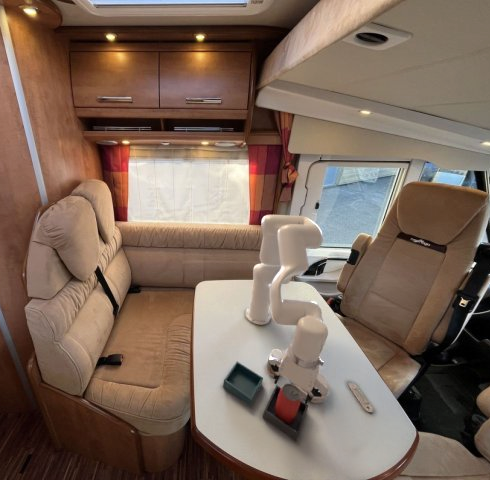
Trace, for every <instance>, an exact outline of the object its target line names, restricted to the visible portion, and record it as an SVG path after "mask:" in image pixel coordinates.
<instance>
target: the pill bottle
mask: <svg viewBox="0 0 490 480" xmlns="http://www.w3.org/2000/svg"><path fill="white" fill-rule="evenodd" d="M284 354H285V353H283V351H281V350H280V349H278V348H275V349H272V350H271V353H270V354H269V355H268V358H267V359H268V360H267V363H266V372H267V373H268V374H269V375H270V376H271V377H274V371H273V369H272V368H271V364H270V362H269V359H270V357H274V358H279V359H282V358H283V356H284ZM276 365H277V366H280V364H276Z"/></svg>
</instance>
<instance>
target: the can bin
mask: <svg viewBox="0 0 490 480" xmlns="http://www.w3.org/2000/svg"><path fill="white" fill-rule="evenodd" d="M281 388H282V387H281V386H280V385H278V384H275V387H274V389H273V390H272V392H271V395H270V397H269V400H268V402H267V404H266V406H265V408H264V410H263V414H262V418H263V419H264V420H265V421H266V422H269V423H270V424H271V425H272V426H274V427H275V428H276V429H278V430H279V431H280V432H282V433H283V434H284V435H286V437H289V438H290V439H291V440H293V441H294V442H295V443H297V441H298V439H299V437H300V433H301V430H302V427H303V424H304V421H305V417H306V414H307V412H308V408H309V404H308V403H307V404H305V401H303V400H301V403H300V406H299V408H298V411H297V414H296V417H295V420H294V421H293V422H292V423H285V422H283V421H281V420H280V419H279V418H278V417H277V415H276V412H275V406H276V402H277V399H278V395H279V392H280V389H281Z"/></svg>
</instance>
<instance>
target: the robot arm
mask: <svg viewBox="0 0 490 480" xmlns="http://www.w3.org/2000/svg"><path fill="white" fill-rule="evenodd" d="M260 224H261V225H260V226H261V227H260V228H261V232H262V240H261V244H260V245H261V246H260V250H259V251H260V252H259V261H260V263H257V264H255V265H254V267H253V269H252V288H251V295H250V302H249V307H247V308H246V310H245V317H246V319H247V320H248V321H249V322H250V323H252V324H254V325H257V326H263V325H268V324H269V322H271V318H272V320H273V321H274V322H275V323H276V324H277V325H281V326H295V327H296V328H295V329H294V330H295V331H294V335H293V336H292V337H293V338H292V341H291V344H290V345H289V346H288V347H287V348H286V350H285V351H284V353H283V354H284V356H283V358H282V359H279V358H274V357H270V359H269V358H268V359H269V362H270V364H271V368H272V369H273V371H274V376H273V380H274V382H273V384H275V385H278V382H279V379H280V377H283V378H284V379H286V380H287V381H289V382H290V383H291V384H292V383H294V384H296V385H297V386H299V387H301V388H302V389H304V390H306V391H307V392H308V394H307V397H306V399H304V403H305V404H308V403H309V402H310V403H312V402H311V400H312V398H314V397H321V396H322V395H323V396H324V395H327V392H328V390H327V389H326V388H325V387H324V386H323V385H322V384H321V383H320V382H319V381H318V380H317V375H318V372H320V366H321V367H323V366H324V363H325V361H324V360H322V359H321V357H320V356H321V355H322V354H321V353H322V351H323V349H324V346H325V344H326V341H327V338H328V336H329V330H328V327H327V325H326V324H325V323H324V319H323V314H322V309H321V307H320V306H319V304H318V303H317V302H316V301H314V300H304V299H303V300H302V299H301V300H300V299H287V298H284V299H283V298H282V291H281V290H282V285H288V284H289V283H290V282H291V281H292V277H295V276H298V275H301V274H303V273H306V271H309V267H310V266H309V264H310V263H309V260H308V253H307V250H317V249H319V248H321V246H322V244H323V240H324V236H323V232H322V230H321V228H320V226H319V225H318V224H317V223H315V222H314V221H313V220H311V218H309V217H307V216H305V215H290V214H289V215H288V214H266V215H264V216H263V217H262V218H261V223H260ZM269 311H270V313H269ZM270 314H271V315H270ZM276 364H280V366H277V365H276ZM314 385H315V386H316V387H317V388H318V389H316V388H315V387H314Z"/></svg>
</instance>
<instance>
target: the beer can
mask: <svg viewBox="0 0 490 480" xmlns="http://www.w3.org/2000/svg"><path fill="white" fill-rule="evenodd" d="M301 401H302V397H301V394H300V391H299V390H298V388H297V387H296V386H294V385H292V383H285V384H283V385H282V387H281V389H280V392H279V395H278V399H277V402H276V406H275V412H276V415H277V417H278V418H279V419H280V420H281V421H283V422H285V423H292V422H293V421H294V420H295V417H296V414H297V411H298V408H299V406H300V403H301Z"/></svg>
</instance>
